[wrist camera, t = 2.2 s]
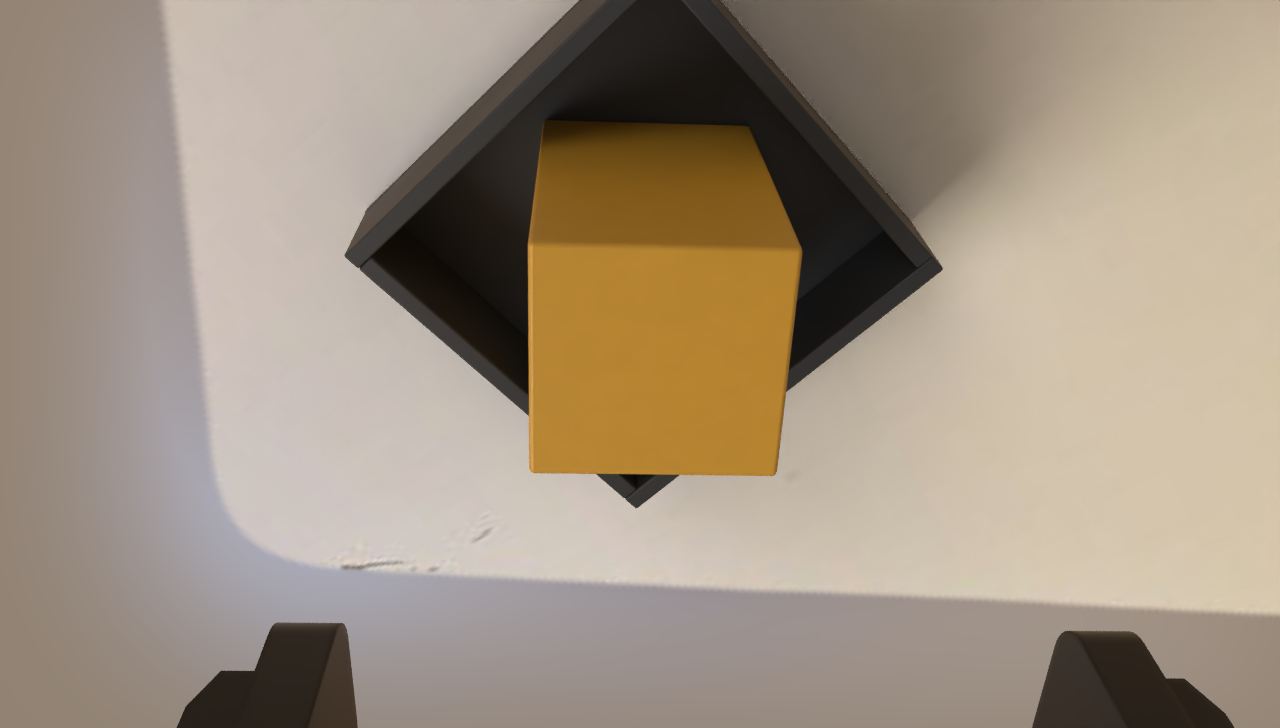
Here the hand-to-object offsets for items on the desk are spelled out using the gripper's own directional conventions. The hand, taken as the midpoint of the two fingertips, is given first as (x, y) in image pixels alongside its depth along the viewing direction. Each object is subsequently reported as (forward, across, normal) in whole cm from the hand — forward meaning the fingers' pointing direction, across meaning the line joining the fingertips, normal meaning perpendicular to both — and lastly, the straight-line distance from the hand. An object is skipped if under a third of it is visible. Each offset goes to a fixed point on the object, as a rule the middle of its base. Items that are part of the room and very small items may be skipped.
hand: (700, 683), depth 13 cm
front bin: (+15, 0, 0) cm, 15 cm away
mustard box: (+14, 0, 0) cm, 15 cm away
